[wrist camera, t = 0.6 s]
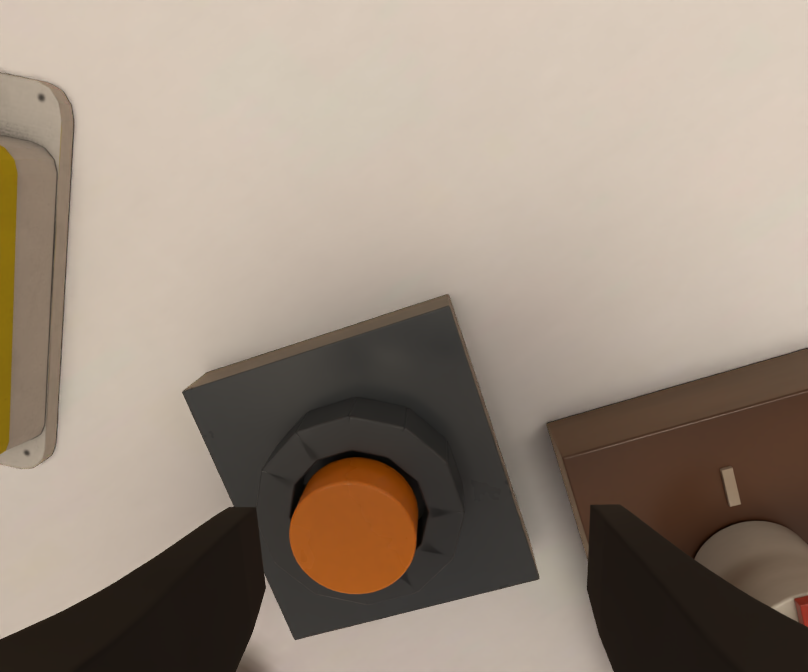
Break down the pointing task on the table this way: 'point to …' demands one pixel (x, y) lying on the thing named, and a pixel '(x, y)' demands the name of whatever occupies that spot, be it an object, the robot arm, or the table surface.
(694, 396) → the control panel
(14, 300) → the emergency button
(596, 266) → the table surface
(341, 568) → the button
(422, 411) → the button box
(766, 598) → the dial
